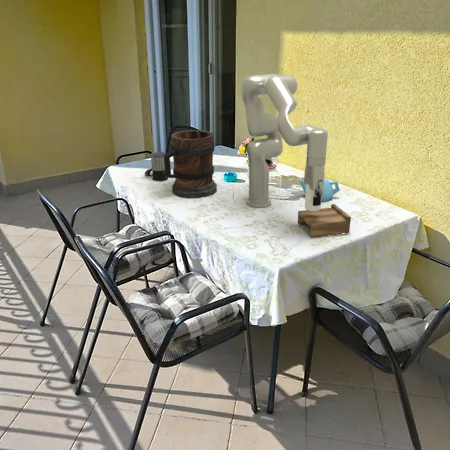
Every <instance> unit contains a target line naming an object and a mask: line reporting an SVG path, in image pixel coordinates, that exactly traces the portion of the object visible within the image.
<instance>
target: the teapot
mask: <svg viewBox="0 0 450 450" xmlns="http://www.w3.org/2000/svg"><path fill="white" fill-rule="evenodd" d="M299 183H300V186H301V187H302V190H303V192H304V194H306V185H305V184H304V180H299ZM333 186H334V187H335V188H333ZM323 189H324V192H323V193H322V197H321V202H327V201H326V200H328V201H330V200H331V199H333V197H334V195H336V194H338V193H339V192H340V191H341V190H340V186H339V182H338V180H335V181H334V180H333V181H330V180H328V179H327V178H324V188H323ZM329 199H330V200H329Z"/></svg>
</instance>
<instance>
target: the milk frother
mask: <svg viewBox="0 0 450 450" xmlns="http://www.w3.org/2000/svg"><path fill="white" fill-rule="evenodd" d="M166 153H167V152H163V151H162V152H161V151H158V152H157V151H156V152H152V153H150V154H149V155H150V161H151V164H150V165H151V168H149V169H146V170H145V171H144V175H145V176H146V177H152V178H151V179H152V181H154V182H165V181H167V180H168V179H169V178H168V177H166V173H165V163H164V155H165V154H166Z"/></svg>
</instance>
